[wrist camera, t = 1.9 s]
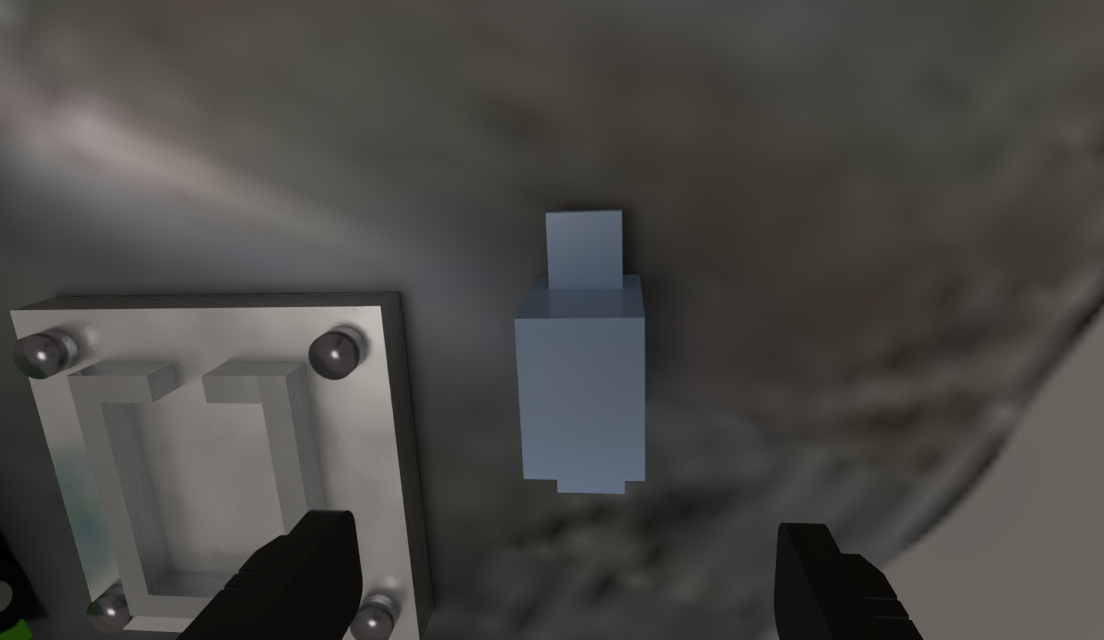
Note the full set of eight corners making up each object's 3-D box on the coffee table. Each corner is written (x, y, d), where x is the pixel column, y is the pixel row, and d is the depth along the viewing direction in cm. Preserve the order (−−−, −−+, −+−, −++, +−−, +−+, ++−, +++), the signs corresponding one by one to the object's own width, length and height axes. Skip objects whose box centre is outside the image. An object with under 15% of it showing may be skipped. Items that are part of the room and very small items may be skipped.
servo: (535, 205, 23) (509, 229, 17) (639, 203, 22) (644, 225, 17) (547, 463, 25) (527, 550, 20) (640, 464, 25) (645, 554, 20)
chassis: (55, 296, 25) (-27, 321, 22) (399, 292, 24) (364, 317, 21) (133, 595, 29) (73, 653, 26) (433, 608, 28) (408, 672, 25)
